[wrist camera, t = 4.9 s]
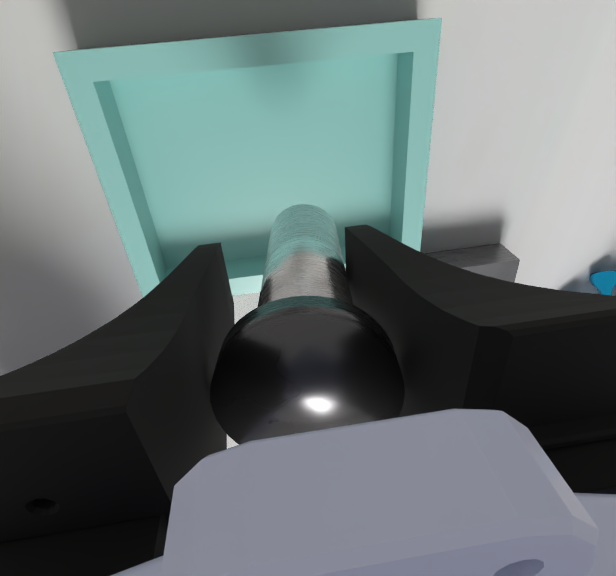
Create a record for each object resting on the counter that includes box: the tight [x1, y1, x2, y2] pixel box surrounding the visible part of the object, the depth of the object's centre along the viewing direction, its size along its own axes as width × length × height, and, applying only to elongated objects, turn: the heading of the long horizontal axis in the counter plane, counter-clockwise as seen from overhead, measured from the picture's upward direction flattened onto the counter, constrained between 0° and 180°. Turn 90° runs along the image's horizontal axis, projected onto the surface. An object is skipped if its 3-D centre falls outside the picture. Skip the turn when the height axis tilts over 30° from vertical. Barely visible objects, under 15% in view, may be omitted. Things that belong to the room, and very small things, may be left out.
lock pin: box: [210, 204, 405, 445], centre depth 11 cm, size 4×4×8 cm
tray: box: [53, 18, 442, 297], centre depth 18 cm, size 14×11×2 cm
